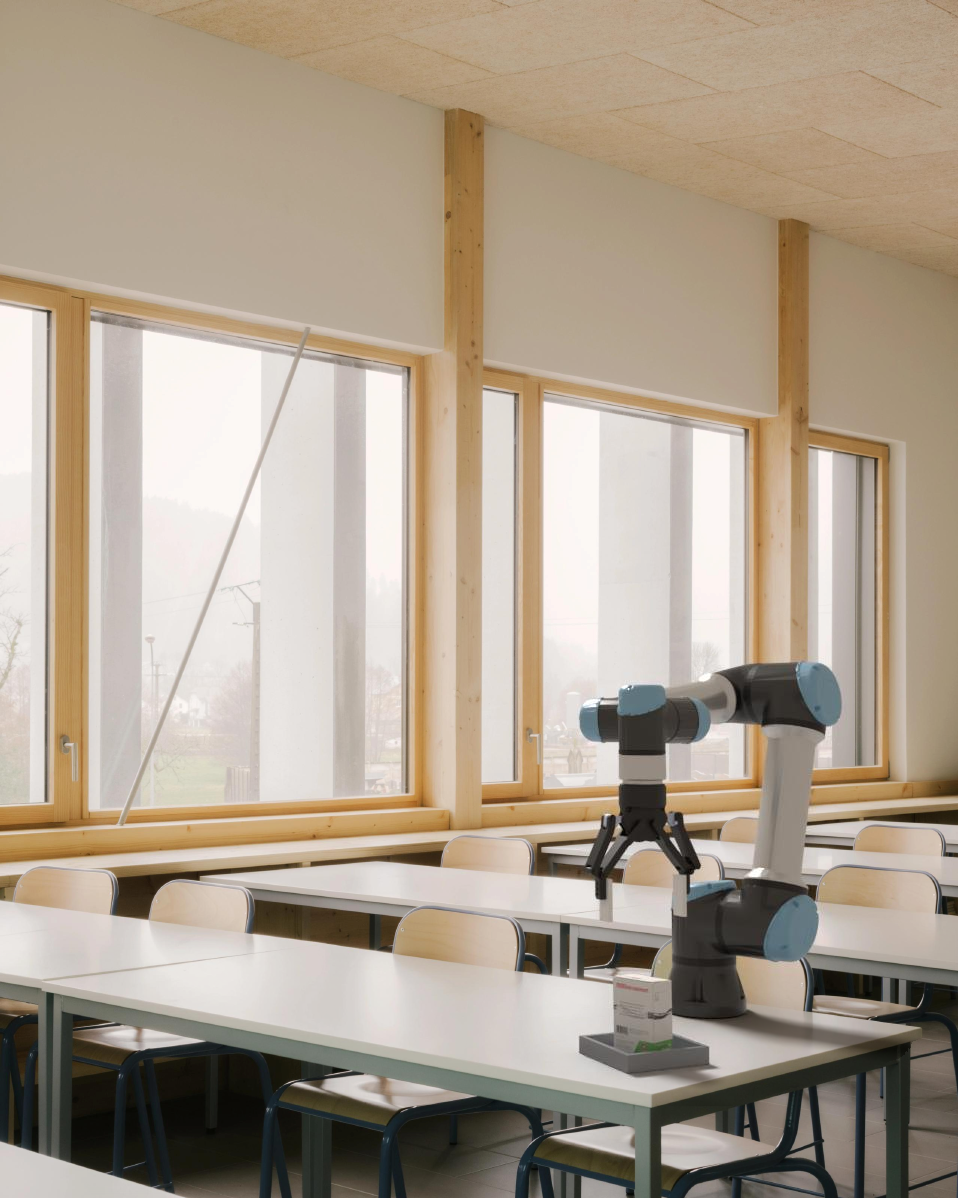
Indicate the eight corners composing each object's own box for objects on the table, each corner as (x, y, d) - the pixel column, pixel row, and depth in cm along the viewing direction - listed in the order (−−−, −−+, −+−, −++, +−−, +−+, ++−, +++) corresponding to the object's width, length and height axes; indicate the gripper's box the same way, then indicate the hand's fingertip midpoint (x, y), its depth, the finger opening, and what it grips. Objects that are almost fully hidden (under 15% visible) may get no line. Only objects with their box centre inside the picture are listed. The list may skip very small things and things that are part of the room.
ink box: (674, 1057, 218) (674, 978, 219) (653, 1062, 214) (653, 982, 215) (632, 1047, 224) (632, 971, 225) (611, 1051, 221) (611, 975, 222)
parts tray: (657, 1044, 229) (657, 1027, 229) (709, 1064, 216) (709, 1046, 216) (579, 1052, 222) (579, 1035, 223) (627, 1073, 209) (627, 1055, 210)
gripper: (694, 779, 232) (696, 910, 230) (561, 782, 221) (562, 920, 219) (721, 781, 225) (723, 916, 223) (585, 785, 214) (586, 926, 212)
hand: (643, 918), depth 221 cm, fingers open, 13 cm apart
